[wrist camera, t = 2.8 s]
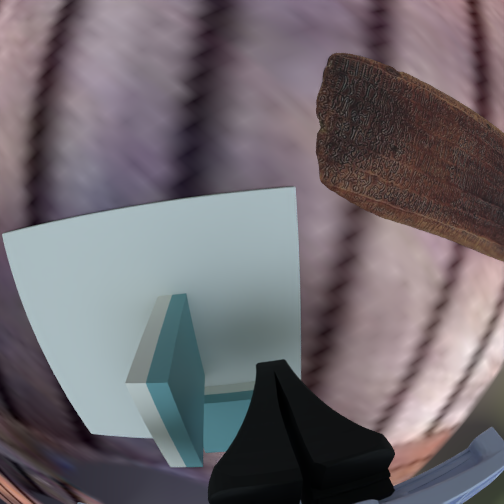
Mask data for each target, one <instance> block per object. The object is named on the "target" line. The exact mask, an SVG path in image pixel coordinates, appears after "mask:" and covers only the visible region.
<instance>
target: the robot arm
mask: <svg viewBox="0 0 504 504" xmlns="http://www.w3.org/2000/svg"><path fill="white" fill-rule="evenodd" d="M394 455H395V452H394V450H393V448H392V446H391V444H390V443H389V442H388V440H387V439H386V438H385V436H384V435H383V434H380V433H377V432H375V431H372V430H369V429H367V428H364V427H362V426H360V425H358V424H356V423H354V422H352V421H351V420H349V419H347V418H345V417H344V416H342V415H340V414H339V413H337V412H336V411H334V410H333V409H332V408H330V407H329V406H328V405H326V404H325V403H324V402H323V401H321V400H320V399H319V398H318V397H317V396H316V395H315V394H314V393H313V392H312V391H311V390H310V389H309V388H308V387H307V386H306V385H305V384H304V383H303V382H302V381H301V380H300V379H299V377H298V376H297V375H296V374H295V373H294V371H293V370H292V369H291V367H290V366H289V364H288V363H287V361H286V360H285V359H281V360H274V361H267V362H260V363H257V364H256V379H255V385H254V390H253V395H252V398H251V402H250V405H249V408H248V411H247V413H246V416H245V418H244V421H243V423H242V425H241V427H240V429H239V431H238V433H237V435H236V437H235V439H234V440H233V442H232V443H231V445H230V446H229V448H228V450H227V451H226V453H225V454H224V455H223V457H222V458H221V459H220V460H219V462H218V463H217V464H216V465H215V466H214V469H213V471H212V474H211V477H210V481H209V486H208V501H209V503H210V504H462V503H464V502H465V501H467V500H468V499H469V498H471V497H472V496H473V495H475V494H476V493H478V492H479V491H480V490H482V489H483V488H485V487H486V486H487V485H489V484H490V483H491V482H492V481H493V480H494V479H495V478H496V477H497V476H498V475H499V474H500V473H501V472H502V471H503V470H504V441H503V439H502V438H501V437H500V436H499V434H498V433H497V432H496V431H495V429H494V428H493V427H490V428H489V429H488V430H486V431H485V432H483V433H482V434H480V435H479V436H477V437H476V438H475V439H474V440H473V441H472V442H471V444H470V445H469V448H467V449H465V450H464V451H462V452H461V453H459V454H457V455H455V456H454V457H452V458H450V459H449V460H447V461H445V462H443V463H441V464H440V465H438V466H436V467H434V468H432V469H430V470H428V471H426V472H424V473H422V474H420V475H418V476H416V477H413V478H411V479H409V480H407V481H404V482H402V483H400V484H397V485H395V486H393V485H392V483H391V481H390V479H389V477H390V476H391V475H390V472H389V470H388V467H389V465H390V464H391V462H392V460H393V458H394ZM77 504H85V503H81V502H78V503H77Z"/></svg>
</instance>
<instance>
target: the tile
mask: <svg viewBox="0 0 504 504" xmlns="http://www.w3.org/2000/svg"><path fill="white" fill-rule="evenodd" d="M125 384H126V386H127V389H128V391H129V393H130V395H131V397H132V399H133V401H134V403H135V405H136V407H137V409H138V411H139V413H140V415H141V417H142V419H143V421H144V422H145V424H146V426H147V428H148V430H149V432H150V433H151V435H152V437H153V439H154V440H155V442H156V444H157V446H158V447H159V449H160V451H161V452H162V454H163V456H164V457H165V459H166V460H167V462H168V464H169V465H170V467H203V428H204V390H205V374H204V370H203V366H202V362H201V358H200V354H199V349H198V345H197V341H196V336H195V332H194V328H193V323H192V318H191V314H190V309H189V304H188V299H187V294H186V293H185V294H175V295H165V296H158V298H157V300H156V303H155V305H154V308H153V310H152V313H151V315H150V318H149V320H148V323H147V325H146V328H145V330H144V333H143V335H142V338H141V341H140V343H139V346H138V349H137V351H136V354H135V357H134V359H133V362H132V365H131V368H130V371H129V373H128V376H127V379H126V382H125Z"/></svg>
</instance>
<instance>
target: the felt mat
mask: <svg viewBox="0 0 504 504" xmlns="http://www.w3.org/2000/svg"><path fill="white" fill-rule="evenodd" d="M2 236H3V241H4V245H5V249H6V253H7V256H8V260H9V264H10V267H11V270H12V274H13V277H14V280H15V283H16V286H17V289H18V292H19V295H20V298H21V301H22V303H23V306H24V309H25V311H26V314H27V316H28V319H29V321H30V324H31V326H32V328H33V331H34V333H35V335H36V338H37V340H38V342H39V344H40V346H41V348H42V351H43V353H44V355H45V357H46V359H47V361H48V363H49V365H50V367H51V369H52V370H53V372H54V374H55V376H56V378H57V380H58V381H59V383H60V385H61V387H62V389H63V390H64V392H65V394H66V395H67V397H68V399H69V400H70V402H71V404H72V405H73V407H74V408H75V410H76V412H77V413H78V415H79V416H80V418H81V419H82V421H83V422H84V424H85V425H86V426H87V428H88V429H89V431H90V432H91V434H100V435H109V436H121V437H136V438H153V437H152V435H151V433H150V432H149V430H148V428H147V426H146V424H145V422H144V421H143V419H142V417H141V415H140V413H139V411H138V409H137V407H136V405H135V403H134V401H133V399H132V397H131V395H130V393H129V391H128V389H127V386H126V384H125V382H126V379H127V376H128V373H129V371H130V368H131V365H132V362H133V359H134V357H135V354H136V351H137V349H138V346H139V343H140V341H141V338H142V335H143V333H144V330H145V328H146V325H147V323H148V320H149V318H150V315H151V313H152V310H153V308H154V305H155V303H156V300H157V298H158V296H165V295H175V294H185V293H186V294H187V299H188V304H189V309H190V314H191V318H192V323H193V328H194V332H195V336H196V341H197V345H198V349H199V354H200V358H201V362H202V366H203V370H204V374H205V387H207V386H219V385H229V384H238V383H246V382H254V381H255V379H256V364H257V363H260V362H267V361H274V360H281V359H285V360H286V361H287V363H288V364H289V366H290V367H291V369H292V370H293V371H294V373H295V374H296V375H297V376H298V377H299V379H300V380H301V305H300V268H299V243H298V222H297V205H296V189H295V187H294V186H292V187H279V188H268V189H258V190H248V191H238V192H229V193H220V194H212V195H204V196H196V197H189V198H181V199H174V200H167V201H161V202H154V203H148V204H141V205H135V206H129V207H124V208H118V209H112V210H107V211H101V212H96V213H91V214H86V215H81V216H76V217H71V218H66V219H61V220H57V221H52V222H47V223H43V224H39V225H34V226H30V227H26V228H22V229H18V230H14V231H10V232H6V233H4V234H2Z"/></svg>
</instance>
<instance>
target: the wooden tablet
mask: <svg viewBox="0 0 504 504" xmlns="http://www.w3.org/2000/svg"><path fill="white" fill-rule="evenodd" d="M316 102H317V108H316V114H317V118H318V119H319V122H320V126H321V128H320V130H319V132H318V133H317V142H316V155H317V159H318V163H319V174H320V180H321V182H322V183H323V184H324V185H325V186H326V187H327V188H329V189H330V190H331V191H334V192H335V193H337V194H338V195H340V196H341V197H343V198H345V199H347V200H348V201H350V202H351V203H353V204H355V205H357V206H359V207H361V208H362V209H364V210H366V211H368V212H371V213H374V214H375V215H378V216H380V217H382V218H384V219H389V220H392V221H395V222H398V223H401V224H405V225H408V226H411V227H414V228H417V229H419V230H423V231H425V232H429V233H432V234H435V235H438V236H440V237H443V238H446V239H449V240H452V241H454V242H456V243H459V244H461V245H464V246H466V247H468V248H471V249H473V250H476V251H478V252H481V253H483V254H485V255H488V256H490V257H493V258H496V259H498V260H501V261H504V133H503V132H502V131H501V130H499V129H498V128H497V127H495V126H494V125H493V124H491V123H490V122H488V121H487V120H486V119H484V118H483V117H481V116H480V115H478V114H477V113H476V112H474V111H473V110H471V109H470V108H468V107H467V106H465V105H463V104H462V103H460V102H459V101H457V100H455V99H453V98H452V97H450V96H448V95H447V94H445V93H443V92H441V91H439V90H438V89H436V88H434V87H432V86H431V85H429V84H427V83H425V82H422V81H420V80H419V79H417V78H415V77H413V76H411V75H409V74H407V73H404V72H398V71H396V70H395V69H394V68H393V67H390V66H387V65H385V64H382V63H380V62H377V61H374V60H371V59H368V58H365V57H361V56H357V55H353V54H346V53H335V54H333V55H331V56H330V58H329V61H328V65H327V67H326V68H325V71H324V75H323V83H322V86H321V89H320V91H319V93H318V96H317V101H316Z"/></svg>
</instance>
